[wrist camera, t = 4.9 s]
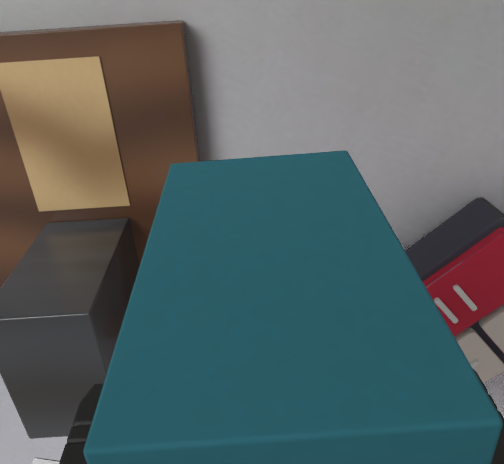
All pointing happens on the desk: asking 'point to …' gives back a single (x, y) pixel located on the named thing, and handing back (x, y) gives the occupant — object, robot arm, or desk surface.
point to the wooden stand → (80, 198)
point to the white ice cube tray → (43, 461)
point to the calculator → (468, 281)
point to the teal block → (284, 331)
